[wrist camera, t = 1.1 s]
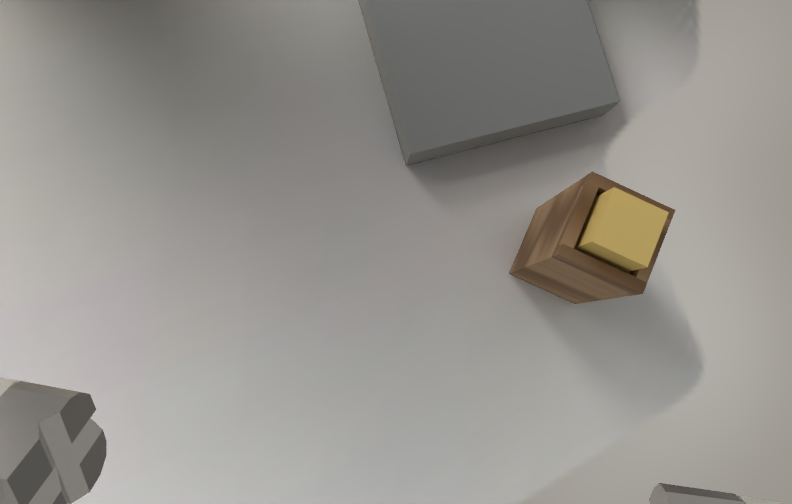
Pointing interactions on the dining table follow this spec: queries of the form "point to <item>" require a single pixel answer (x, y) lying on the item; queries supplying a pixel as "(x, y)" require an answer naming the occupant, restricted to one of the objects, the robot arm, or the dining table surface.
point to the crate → (567, 267)
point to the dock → (485, 69)
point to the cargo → (621, 230)
